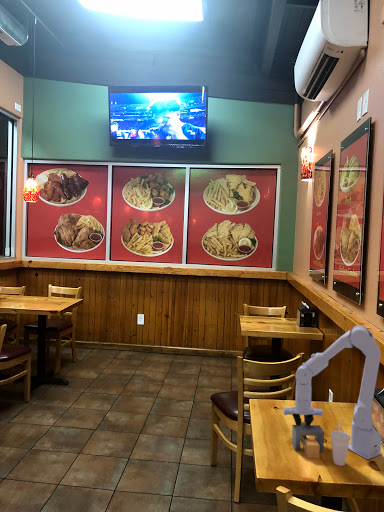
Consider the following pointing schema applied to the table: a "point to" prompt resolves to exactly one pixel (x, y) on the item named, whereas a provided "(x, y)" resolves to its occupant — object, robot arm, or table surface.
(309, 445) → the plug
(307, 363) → the robot arm
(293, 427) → the housing
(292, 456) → the table surface
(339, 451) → the smoothie
